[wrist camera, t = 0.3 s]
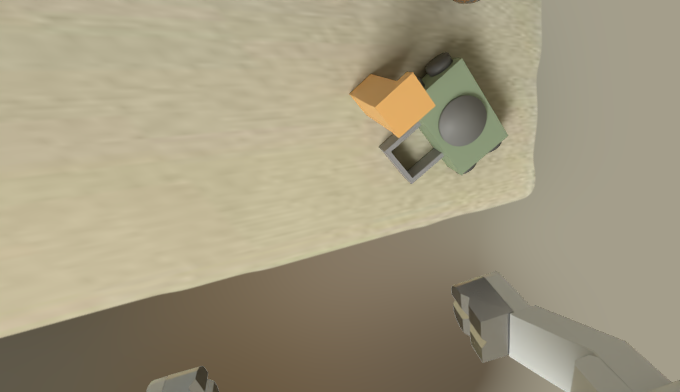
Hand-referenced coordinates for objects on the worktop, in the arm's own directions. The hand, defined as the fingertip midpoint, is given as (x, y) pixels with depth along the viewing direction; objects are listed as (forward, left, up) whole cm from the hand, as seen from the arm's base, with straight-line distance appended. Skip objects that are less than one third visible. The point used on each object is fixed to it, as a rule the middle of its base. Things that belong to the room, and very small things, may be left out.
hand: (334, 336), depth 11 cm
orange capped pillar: (+3, +14, -47) cm, 49 cm away
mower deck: (+12, +24, -47) cm, 54 cm away
